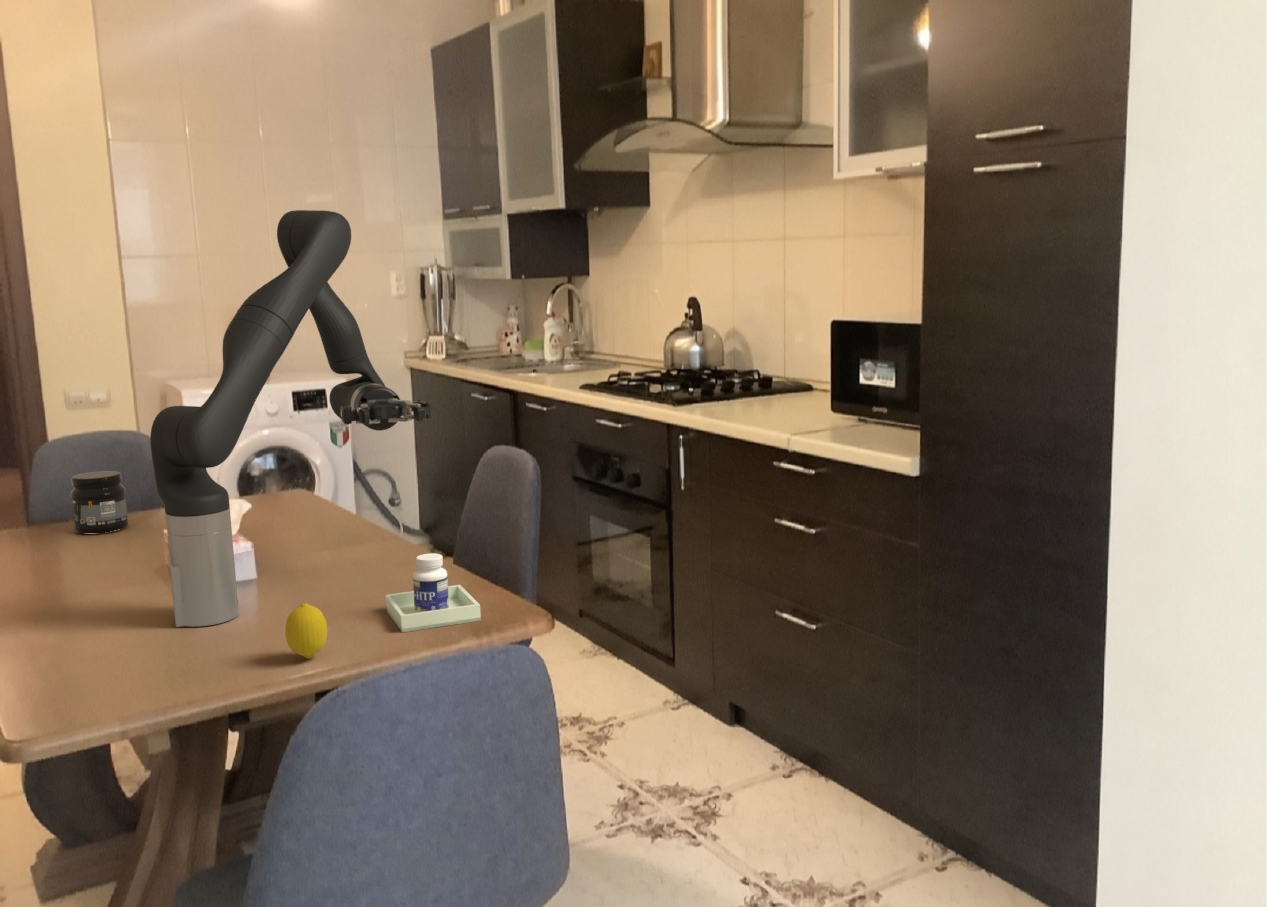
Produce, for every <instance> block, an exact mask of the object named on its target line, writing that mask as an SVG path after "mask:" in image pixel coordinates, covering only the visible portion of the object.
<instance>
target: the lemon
mask: <svg viewBox="0 0 1267 907" xmlns="http://www.w3.org/2000/svg"><path fill="white" fill-rule="evenodd" d="M284 629H285V631H284V633H285V638H286V639H285V640H286V642H287V645H288V647H289V648H290V650H291V651H292V652H293V653H295V654H296V655H298V656H302V657H303V658H304V659H307V660H309V659H312V657H313V656H314V655H315V654H317V653H319V652H320V651H321V650H322V649H323V647H324V646H326V645H325V644H326V642H327V639H328V638H327V637H328V624H327V620H326V617H325V615H324V614H323V612H322V611H321V610H320V609H319V608H318V607H316V606H315V605H311V604H309V603H307V602H304V603H301V604H300V605H299V606H297V607H295V608H294V609H293V610H292V611H290V613H289V615H288V617H287V618H286V623H285V628H284Z"/></svg>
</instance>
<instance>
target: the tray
mask: <svg viewBox="0 0 1267 907" xmlns="http://www.w3.org/2000/svg"><path fill="white" fill-rule="evenodd" d="M384 596H385V610H386V612H387V613H388V614H389V616H390V617H391V619H392V620H393V622H394V621H395V622H394V623H395V624H397V625H396V626H397V627H398V629H399V630H400V632H401V633H409V632H415V631H421V630H429V629H435V628H441V627H446V626H452V625H453V626H455V625H461V624H468V623H473V622H474V623H475V622H481V621H482V614H481V604H480V603H479V602H478V601H477V600H476V599H475V598H474V597H473V596H472V595H471V594H470V593H469V592H468V591H467V590H466V589H465V588H464V587H463V586H462V585H461V584H455V585H448V598H449V608H446V609H440V610H433V611H426V612H419V613H415V609H414V590H412V591H411V590H410V591H404V592H403V591H402V592H398V593H390V594H389V593H388V594H385V595H384Z"/></svg>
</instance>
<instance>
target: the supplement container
mask: <svg viewBox="0 0 1267 907" xmlns="http://www.w3.org/2000/svg"><path fill="white" fill-rule="evenodd" d="M70 481H71V486H72V487H73V489H72V490H71V491H70V494H69V496H70V498H71V507H72V517H73V529H74V531H75V532H76V533H78V534H80V533H105V532H110V531H114V530H118V529H122V528H124V529H126V528H127V527H128V525H129V518H128V507H127V498H126V487H125V486H124V485H123V484H122V481H123V480H122V473H121V472H120V471H115V470H102V471H89V472H84V473H80V474H79V473H78V474H75V475H73V476H72V477H71V478H70ZM126 526H127V527H126ZM122 530H123V529H122Z"/></svg>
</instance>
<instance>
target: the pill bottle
mask: <svg viewBox="0 0 1267 907" xmlns="http://www.w3.org/2000/svg"><path fill="white" fill-rule="evenodd" d="M443 558H444V557H443V555H442V554H440V553H435V552H434V553H424V554H420V555H418V556H416V558H415V560H416V567H417V569H415V571H414V572H413V574H412V584H413V585H412V586H413V591H414V609H415V613H419V612H426V611H433V610H440V609H446V608H449V598H448V586H449V581H448V571H447V570H446V569H445V568H443V565H444V564H443V563H444V559H443Z"/></svg>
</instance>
